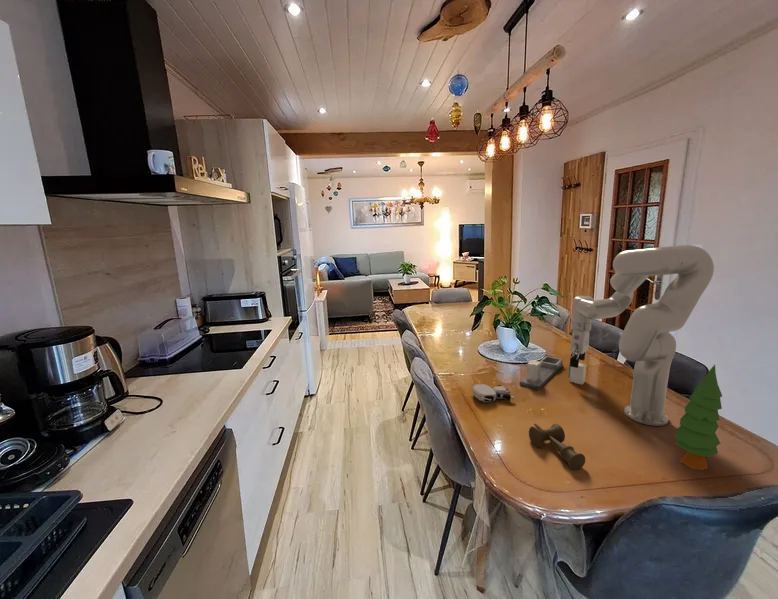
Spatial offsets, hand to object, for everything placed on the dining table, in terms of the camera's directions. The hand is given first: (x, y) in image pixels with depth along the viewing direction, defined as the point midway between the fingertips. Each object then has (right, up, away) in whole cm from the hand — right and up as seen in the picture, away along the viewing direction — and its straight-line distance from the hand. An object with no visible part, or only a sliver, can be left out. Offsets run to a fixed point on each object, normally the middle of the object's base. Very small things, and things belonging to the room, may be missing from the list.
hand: (577, 363), depth 151 cm
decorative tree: (+5, -19, -52) cm, 55 cm away
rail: (-11, -7, +9) cm, 16 cm away
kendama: (-30, -19, -43) cm, 56 cm away
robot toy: (-40, -12, -10) cm, 43 cm away
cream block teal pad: (+1, -8, +1) cm, 8 cm away
